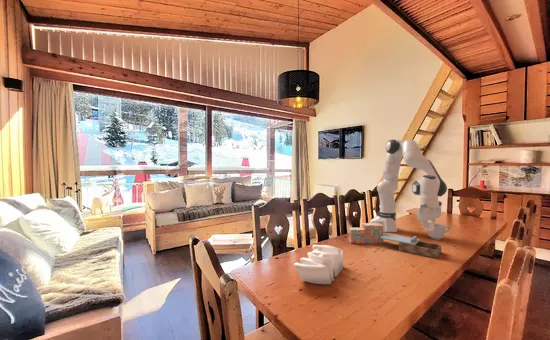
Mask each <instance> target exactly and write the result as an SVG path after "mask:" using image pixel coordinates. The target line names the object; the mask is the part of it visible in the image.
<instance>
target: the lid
mask: <svg viewBox="0 0 550 340" xmlns="http://www.w3.org/2000/svg"><path fill="white" fill-rule="evenodd" d="M380 239H383V240H386V241H390V242H391V241H392V242H396V243H399V242H401V243H406V244H411V245H416V244H417V243H418V242H419V241H421V240H420V239H419V238H418V237H417V236H416V235H413V236H412V237H407V236H402V235H397V234H390V233H383V236H381V237H380Z"/></svg>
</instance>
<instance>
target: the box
mask: <svg viewBox="0 0 550 340" xmlns="http://www.w3.org/2000/svg"><path fill="white" fill-rule="evenodd" d="M398 251H399V252H404V253H408V254H413V255H417V256H422V257H426V258H431V259H432V258H433V259H436V260H437V259H439V257H440V256H441V254H442V244H437V243H433V242H426V241H421V240H420V241H419V242H418V243H417V244H416V245H411V244H406V243H401V242H398Z"/></svg>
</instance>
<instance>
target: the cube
mask: <svg viewBox="0 0 550 340" xmlns="http://www.w3.org/2000/svg"><path fill="white" fill-rule="evenodd" d="M434 223H435V222H432V221H431V220H428V222H427V224H428V228H424V227H423V230H424V231H428V230H429V231H433V230H434Z"/></svg>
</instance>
